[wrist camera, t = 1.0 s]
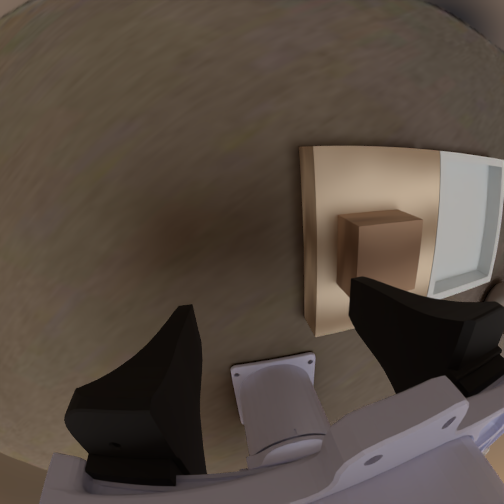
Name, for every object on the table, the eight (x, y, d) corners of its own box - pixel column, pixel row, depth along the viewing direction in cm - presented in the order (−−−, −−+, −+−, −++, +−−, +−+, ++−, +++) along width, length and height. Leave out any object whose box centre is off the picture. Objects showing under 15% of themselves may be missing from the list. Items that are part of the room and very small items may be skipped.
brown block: (392, 272, 20) (414, 289, 17) (336, 283, 20) (354, 303, 17) (397, 209, 19) (423, 219, 16) (337, 214, 18) (359, 226, 15)
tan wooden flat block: (406, 294, 25) (423, 308, 22) (304, 317, 24) (315, 337, 21) (416, 148, 20) (439, 150, 17) (298, 146, 19) (313, 146, 16)
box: (477, 273, 26) (489, 281, 24) (411, 292, 25) (425, 303, 23) (489, 157, 21) (505, 160, 19) (422, 149, 20) (440, 150, 18)
